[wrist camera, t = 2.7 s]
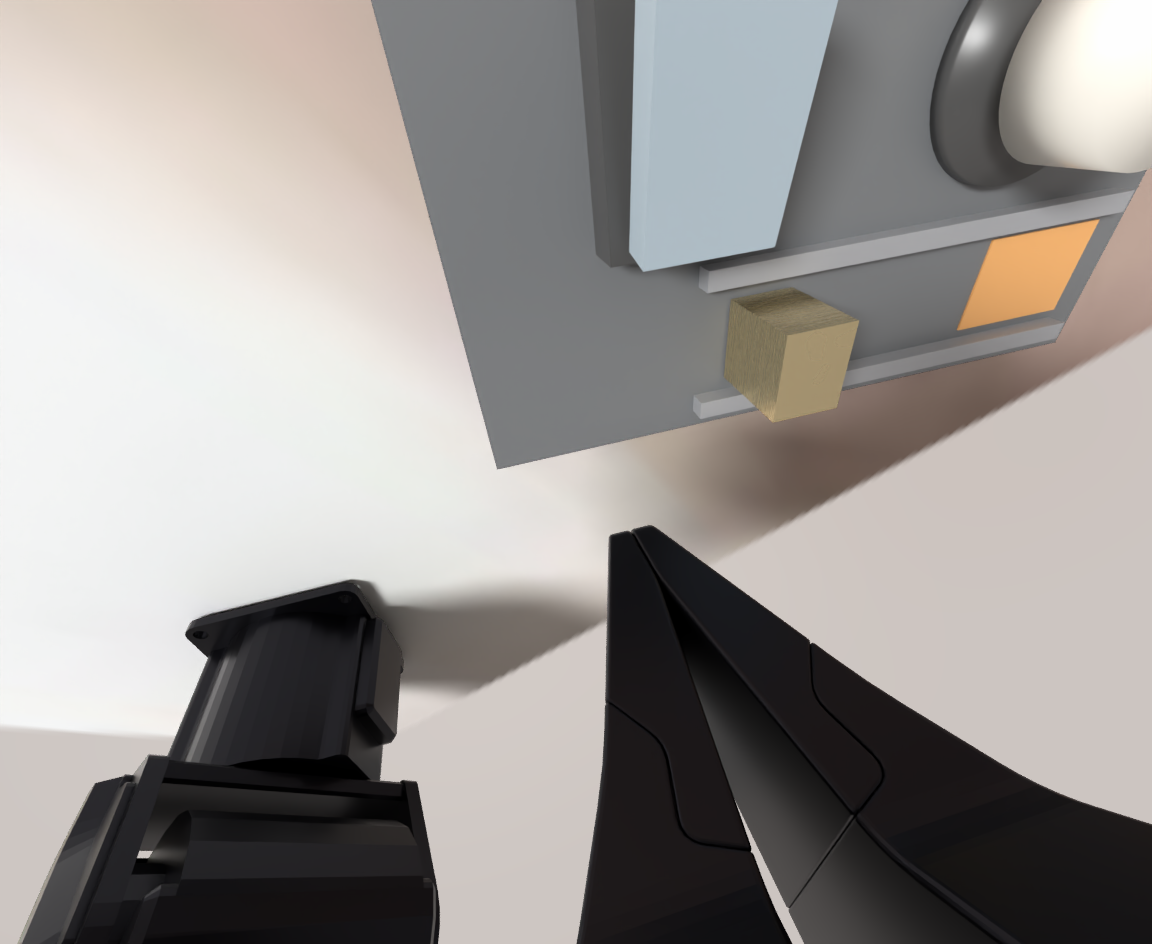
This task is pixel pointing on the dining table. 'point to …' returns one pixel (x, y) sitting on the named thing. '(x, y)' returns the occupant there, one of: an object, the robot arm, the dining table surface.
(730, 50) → the rocker switch
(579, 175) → the control panel
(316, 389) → the dining table surface
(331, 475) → the dining table surface
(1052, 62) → the push button
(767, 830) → the robot arm
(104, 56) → the dining table surface
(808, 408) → the wood grain cube
